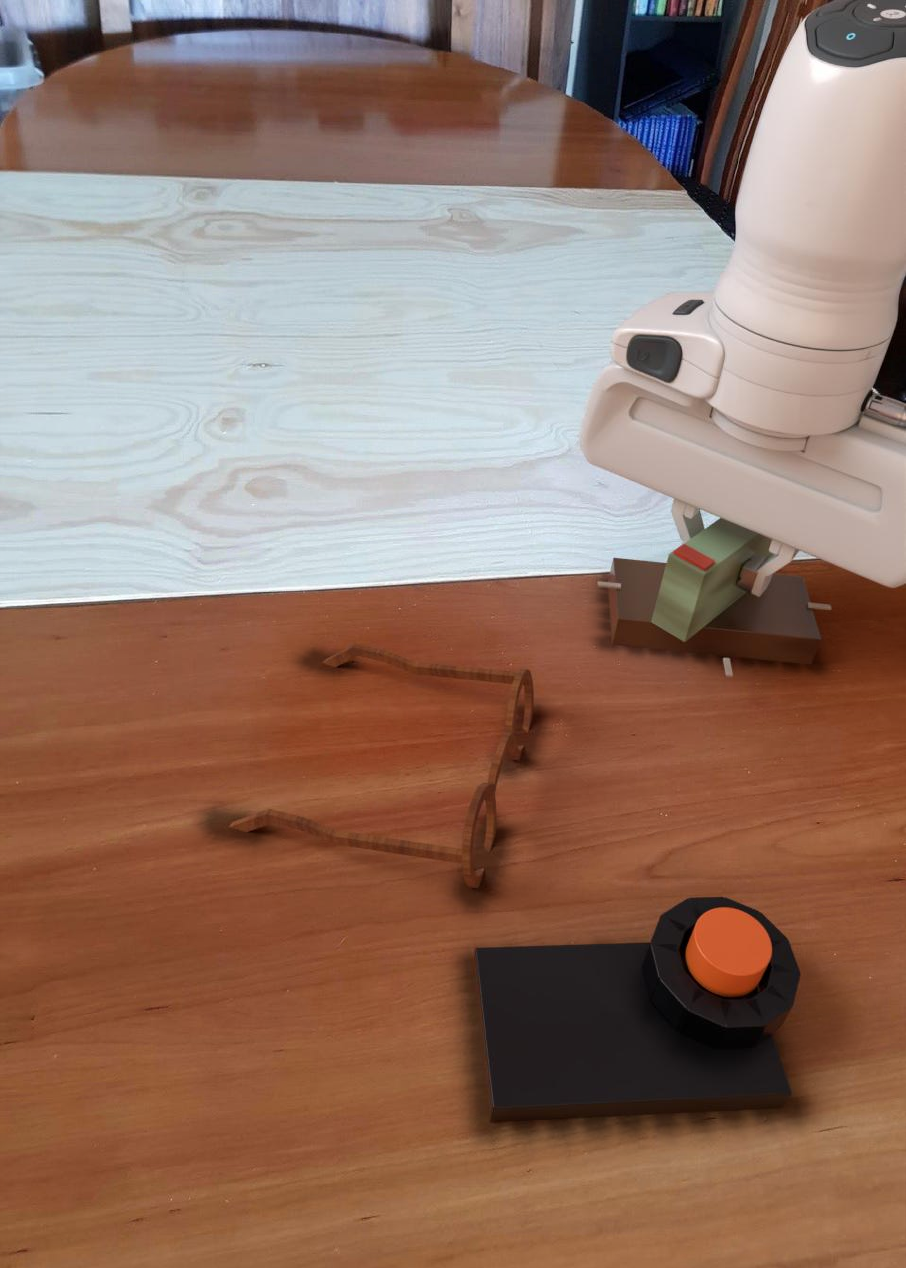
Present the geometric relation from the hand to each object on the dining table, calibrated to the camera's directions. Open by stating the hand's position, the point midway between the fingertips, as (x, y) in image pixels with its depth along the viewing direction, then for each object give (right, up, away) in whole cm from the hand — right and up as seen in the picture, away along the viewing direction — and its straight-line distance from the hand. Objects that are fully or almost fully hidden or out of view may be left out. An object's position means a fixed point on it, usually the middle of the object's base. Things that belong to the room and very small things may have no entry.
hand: (721, 574), depth 63 cm
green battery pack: (0, -1, +1) cm, 2 cm away
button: (-5, -17, -19) cm, 26 cm away
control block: (-9, -21, -18) cm, 29 cm away
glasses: (-20, -11, -8) cm, 24 cm away
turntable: (0, -4, +3) cm, 5 cm away
